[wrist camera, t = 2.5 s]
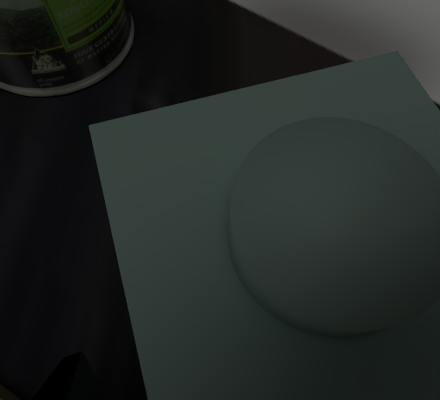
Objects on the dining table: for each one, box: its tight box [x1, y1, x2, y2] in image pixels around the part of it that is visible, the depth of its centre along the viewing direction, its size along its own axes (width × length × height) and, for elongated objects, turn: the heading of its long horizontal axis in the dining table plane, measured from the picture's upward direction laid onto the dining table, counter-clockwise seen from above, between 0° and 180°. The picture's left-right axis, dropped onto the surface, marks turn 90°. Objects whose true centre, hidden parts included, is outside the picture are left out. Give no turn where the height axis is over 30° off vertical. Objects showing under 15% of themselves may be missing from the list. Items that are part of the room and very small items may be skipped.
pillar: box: [89, 51, 440, 400], centre depth 10 cm, size 5×5×14 cm
